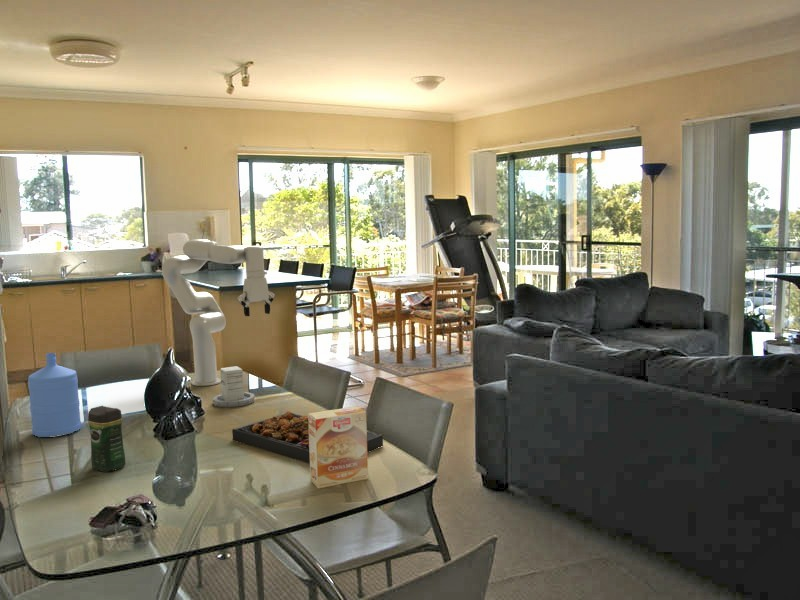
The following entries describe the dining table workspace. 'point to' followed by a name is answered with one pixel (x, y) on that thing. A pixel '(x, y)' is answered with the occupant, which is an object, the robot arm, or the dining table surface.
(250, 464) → the dining table surface
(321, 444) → the coffeecake box
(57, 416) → the water jug
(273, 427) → the food platter
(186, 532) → the dining table surface
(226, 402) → the saucer
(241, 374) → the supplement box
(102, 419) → the coffee jar
